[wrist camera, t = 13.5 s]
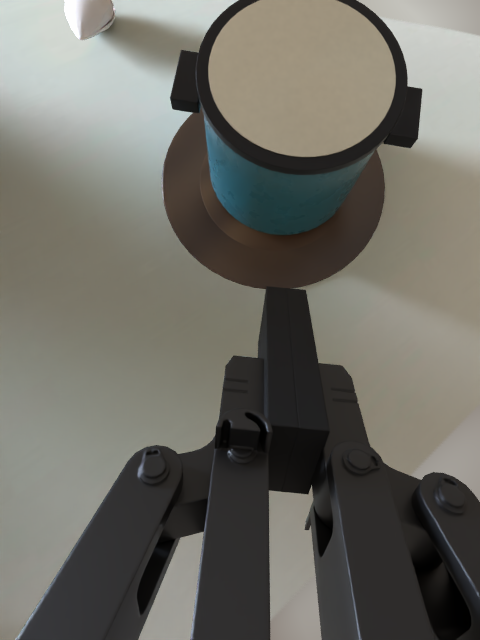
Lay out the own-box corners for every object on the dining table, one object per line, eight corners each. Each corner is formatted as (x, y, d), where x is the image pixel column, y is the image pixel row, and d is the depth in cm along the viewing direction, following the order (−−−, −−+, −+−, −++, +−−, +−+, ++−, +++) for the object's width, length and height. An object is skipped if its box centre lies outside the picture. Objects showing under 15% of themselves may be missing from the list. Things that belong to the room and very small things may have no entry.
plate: (116, 195, 32) (114, 192, 32) (257, 49, 35) (258, 45, 34) (291, 337, 30) (291, 336, 30) (426, 171, 33) (428, 169, 33)
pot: (362, 254, 31) (425, 190, 21) (176, 223, 31) (148, 144, 21) (378, 121, 33) (442, 4, 23) (203, 93, 33) (191, -36, 23)
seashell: (122, 10, 35) (114, -18, 32) (109, 56, 34) (99, 30, 32) (77, 2, 35) (65, -27, 32) (62, 48, 34) (49, 21, 32)
